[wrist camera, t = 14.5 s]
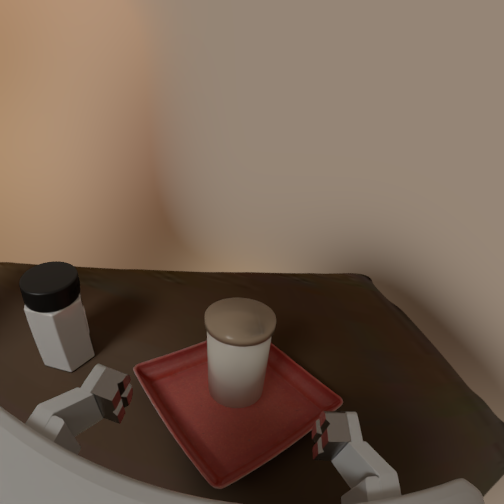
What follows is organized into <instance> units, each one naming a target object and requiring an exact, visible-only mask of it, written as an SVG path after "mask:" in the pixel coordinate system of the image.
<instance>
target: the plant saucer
mask: <svg viewBox="0 0 504 504" xmlns="http://www.w3.org/2000/svg"><path fill="white" fill-rule="evenodd" d="M133 370H134V373H135V375H136V376H137V378H138V380H139V382H140V384H141V385H142V387H143V389H144V391H145V392H146V394H147V396H148V397H149V399H150V401H151V402H152V404H153V406H154V407H155V409H156V410H157V412H158V414H159V415H160V417H161V419H162V420H163V422H164V423H165V425H166V426H167V428H168V430H169V431H170V432H171V434H172V435H173V437H174V438H175V440H176V441H177V442H178V444H179V445H180V447H181V448H182V449H183V451H184V452H185V454H186V455H187V456H188V458H189V459H190V460H191V462H192V463H193V464H194V466H195V467H196V468H197V469H198V471H199V472H200V473H201V475H202V476H203V477H204V478H205V480H206V481H207V482H208V483H209V484H210V485H211V486H212V487H214V488H216V489H223V488H225V487H227V486H229V485H230V484H232V483H234V482H236V481H238V480H239V479H241V478H243V477H244V476H246V475H248V474H249V473H251V472H253V471H254V470H256V469H257V468H259V467H261V466H262V465H264V464H265V463H267V462H268V461H270V460H271V459H273V458H274V457H276V456H277V455H279V454H280V453H282V452H283V451H284V450H286V449H287V448H289V447H290V446H291V445H293V444H294V443H296V442H297V441H298V440H299V439H301V438H302V437H303V436H305V435H306V434H307V433H309V432H310V431H311V430H312V428H313V425H314V423H315V421H316V420H318V419H320V418H319V415H320V413H321V412H322V411H336V410H337V409H338V408H339V407H340V406H341V405H342V404H343V400H342V398H341V397H340V396H338V395H337V394H336V393H334V392H333V391H332V390H330V389H329V388H328V387H327V386H325V385H324V384H323V383H321V382H320V381H319V380H318V379H316V378H315V377H314V376H312V375H311V374H310V373H308V372H307V371H306V370H305V369H304V368H302V367H301V366H299V365H298V364H297V363H296V362H295V361H293V360H292V359H291V358H290V357H288V356H287V355H286V354H285V353H284V352H282V351H281V350H280V349H278V348H277V347H276V346H275V345H274V344H272V343H271V344H270V350H269V356H268V362H267V368H266V374H265V380H264V386H263V391H262V395H261V397H260V398H259V400H258V401H257V402H255V403H254V404H252V405H250V406H248V407H244V408H229V407H226V406H223V405H221V404H219V403H217V402H216V401H215V400H214V399H213V398H212V397H211V395H210V393H209V389H208V359H207V341H204V342H201V343H199V344H196V345H193V346H190V347H187V348H184V349H182V350H179V351H176V352H173V353H170V354H167V355H164V356H161V357H158V358H155V359H152V360H148V361H146V362H142V363H139V364H137V365H136V366H135V367H134V368H133Z"/></svg>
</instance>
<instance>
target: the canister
mask: <svg viewBox="0 0 504 504" xmlns="http://www.w3.org/2000/svg"><path fill="white" fill-rule="evenodd" d="M275 326H276V316H275V313H274V312H273V311H272V310H271V309H270V308H269V307H268V306H267V305H265V304H263V303H261V302H259V301H256V300H252V299H248V298H227V299H223V300H219V301H217V302H215V303H213V304H212V305H210V306H209V307H208V308H207V310H206V312H205V328H206V330H207V359H208V389H209V393H210V395H211V397H212V398H213V399H214V400H215V401H216V402H217V403H219V404H221V405H223V406H226V407H229V408H244V407H248V406H250V405H252V404H254V403H255V402H257V401H258V400H259V398H260V397H261V395H262V391H263V386H264V380H265V374H266V368H267V362H268V356H269V350H270V344H271V337H272V335H273V333H274V331H275Z"/></svg>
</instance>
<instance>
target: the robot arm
mask: <svg viewBox="0 0 504 504" xmlns="http://www.w3.org/2000/svg"><path fill="white" fill-rule="evenodd" d="M130 380H131V379H130V375H128V374H125V373H122V372H119V371H117V370H114V369H111V368H109V367H106V366H103V365H101V364H97V365H96V366H95V367H94V368H93V370H92V371H91V373H90V374H89V376H88V377H87V379H86V380H85V382H84V383H83V385H82V386H81V388H78V387H77V388H75V389H73V390H71V391H68V392H66V393H64V394H62V395H59V396H57V397H55V398H52V399H50V400H48V401H45V402H43V403H41V404H38V405H37V407H36V408H35V410H34V411H33V413H32V414H31V416H30V417H29V419H28V420H27V422H26V423H25V424H24V423H23V422H21V421H20V420H18V419H17V418H16V417H14V416H13V415H11V414H10V413H9V412H7V411H6V410H5V409H3V408H2V407H1V406H0V504H241V503H233V502H226V501H219V500H213V499H208V498H202V497H198V496H193V495H188V494H184V493H180V492H176V491H172V490H168V489H165V488H161V487H158V486H154V485H151V484H148V483H145V482H142V481H139V480H136V479H133V478H130V477H128V476H125V475H122V474H120V473H117V472H114V471H112V470H110V469H107V468H105V467H102V466H100V465H98V464H96V463H93V462H91V461H89V460H87V459H85V458H83V457H81V456H79V455H78V453H79V451H80V449H81V447H80V445H79V443H78V442H77V440H76V439H75V436H77V435H78V434H80V433H81V432H83V431H85V430H86V429H88V428H89V427H91V426H92V425H94V424H96V423H97V422H99V421H100V420H102V419H103V418H105V419H108V420H111V421H114V422H116V423H119V424H120V423H121V421H122V419H123V417H124V414H125V410H124V407H126V406H128V405H129V404H130V402H131V399H132V395H133V389H132V386H131V385H130V384H129V382H130ZM319 418H320V419H318V420H316V421H315V423H314V425H313V428H312V440H313V441H314V443H315V445H314V446H313V448H312V450H313V460H327V461H331V462H332V463H333V465H334V466H335V468H336V469H337V470H338V472H339V473H340V474H341V476H342V477H343V479H344V480H345V481H346V483H347V484H348V485H349V487H350V488H351V490H349V491H348V492H346V493H345V494H344V495H342V496H341V504H484V500H483V497H482V494H481V492H480V491H479V490H478V489H477V488H476V487H475V486H473V485H472V484H471V483H470V482H468V481H467V480H465V479H463V478H459V479H455V480H453V481H450V482H447V483H444V484H441V485H438V486H434V487H431V488H428V489H424V490H421V491H417V492H413V493H409V494H405V495H401V490H400V485H399V480H398V476H397V472H396V471H395V470H394V469H393V468H392V467H391V466H390V465H389V464H388V463H387V462H386V461H385V460H384V459H383V458H382V457H381V456H380V455H379V454H378V453H377V452H376V451H375V450H374V449H373V448H372V447H371V446H370V445H369V444H368V443H367V442H363V438H362V434H361V429H360V424H359V420H358V415H357V413H356V412H344V411H322V412H321V413H320V415H319Z"/></svg>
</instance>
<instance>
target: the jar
mask: <svg viewBox="0 0 504 504" xmlns="http://www.w3.org/2000/svg"><path fill="white" fill-rule="evenodd" d="M19 286H20V290H21V293H22V297H23V300H24V303H25V306H24V311H25V314H26V317H27V320H28V323H29V326H30V329H31V331H32V334H33V337H34V339H35V342H36V345H37V347H38V350H39V352H40V354H41V357H42V359H43V361H44V364H45V365H47V366H50V367H54V368H57V369H61V370H65V371H69V372H73V371H74V370H76V369H77V368H78V367H80V366H81V365H83V364H84V363H85V362H87V361H88V360H90V359H91V358H92V357H94V356H95V354H94V350H93V346H92V342H91V338H90V334H89V333H90V331H89V326H88V322H87V317H86V313H85V308H84V307H83V303H82V298H81V293H80V281H79V277H78V273H77V270H76V268H75V267H74V266H72V265H71V264H68V263H64V262H47V263H43V264H39V265H37V266H34V267H32V268H31V269H29V270H28V271H26V272H25V273H24V274H23V275H22V277H21V279H20V281H19Z"/></svg>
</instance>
